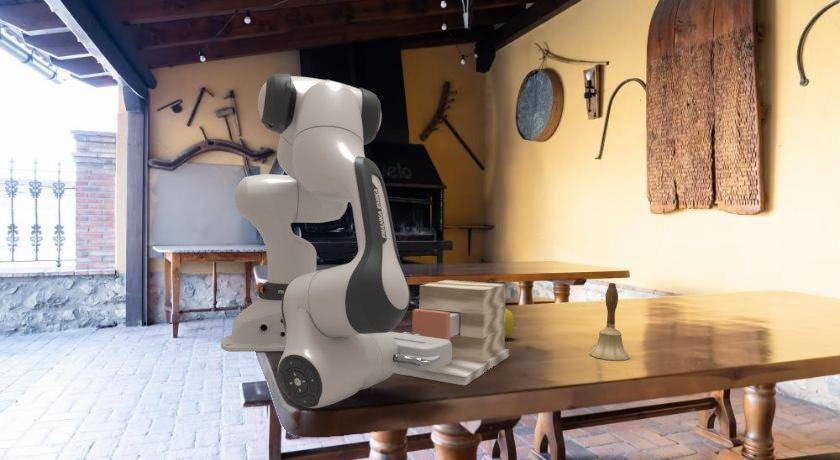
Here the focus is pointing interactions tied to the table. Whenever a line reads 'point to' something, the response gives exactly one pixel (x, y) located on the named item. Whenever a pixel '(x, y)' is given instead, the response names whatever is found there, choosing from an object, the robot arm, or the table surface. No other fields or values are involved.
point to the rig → (467, 328)
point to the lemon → (508, 322)
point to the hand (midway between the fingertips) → (413, 337)
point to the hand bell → (610, 332)
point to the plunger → (436, 323)
